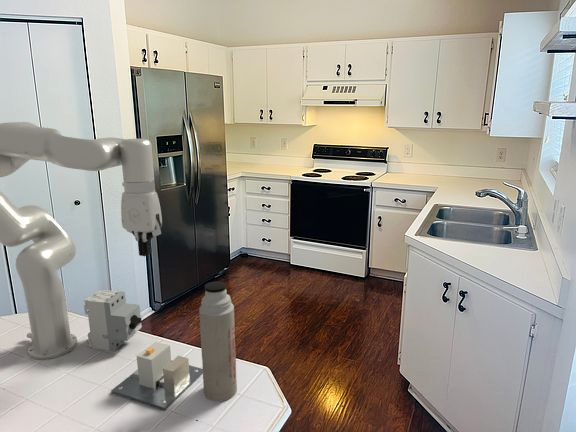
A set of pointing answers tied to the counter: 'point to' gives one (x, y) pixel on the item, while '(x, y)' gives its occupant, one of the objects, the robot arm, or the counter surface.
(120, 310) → the circuit breaker
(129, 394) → the mounting plate
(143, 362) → the block
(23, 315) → the counter surface
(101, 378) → the counter surface
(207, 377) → the thermos bottle
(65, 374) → the counter surface
